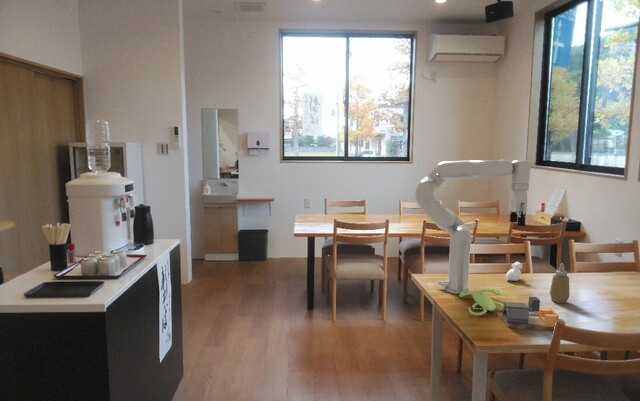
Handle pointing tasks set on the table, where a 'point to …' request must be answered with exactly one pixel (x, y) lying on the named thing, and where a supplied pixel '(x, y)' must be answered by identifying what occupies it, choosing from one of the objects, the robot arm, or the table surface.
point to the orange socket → (548, 317)
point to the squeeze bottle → (560, 286)
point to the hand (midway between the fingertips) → (517, 223)
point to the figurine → (483, 300)
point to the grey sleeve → (516, 313)
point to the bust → (514, 272)
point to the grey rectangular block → (533, 306)
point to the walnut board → (529, 325)
